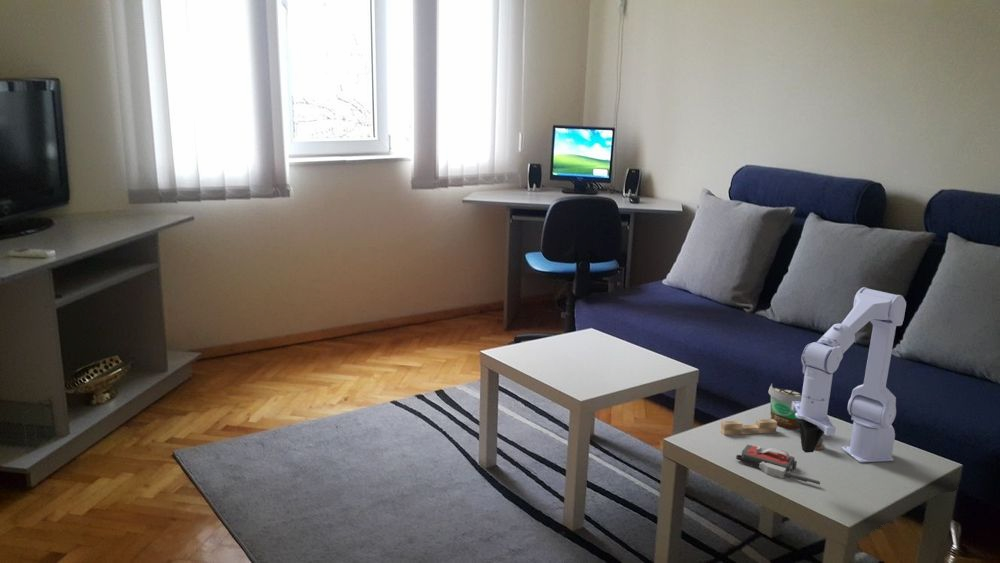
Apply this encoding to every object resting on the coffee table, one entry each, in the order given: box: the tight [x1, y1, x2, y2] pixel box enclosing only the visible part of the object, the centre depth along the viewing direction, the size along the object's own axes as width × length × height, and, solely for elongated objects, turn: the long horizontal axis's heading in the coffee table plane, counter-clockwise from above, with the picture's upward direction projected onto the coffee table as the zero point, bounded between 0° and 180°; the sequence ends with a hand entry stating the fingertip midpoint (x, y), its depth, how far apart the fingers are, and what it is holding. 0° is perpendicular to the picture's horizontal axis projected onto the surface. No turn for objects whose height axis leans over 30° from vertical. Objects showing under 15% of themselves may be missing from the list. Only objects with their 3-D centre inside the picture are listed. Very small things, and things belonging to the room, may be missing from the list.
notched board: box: [719, 418, 778, 436], centre depth 206 cm, size 15×2×3 cm, turn 100°
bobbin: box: [814, 434, 825, 451], centre depth 198 cm, size 4×4×6 cm
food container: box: [768, 383, 802, 430], centre depth 210 cm, size 12×6×10 cm, turn 55°
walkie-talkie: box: [735, 444, 821, 485], centre depth 186 cm, size 9×4×20 cm
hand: (807, 451), depth 176 cm, fingers closed
